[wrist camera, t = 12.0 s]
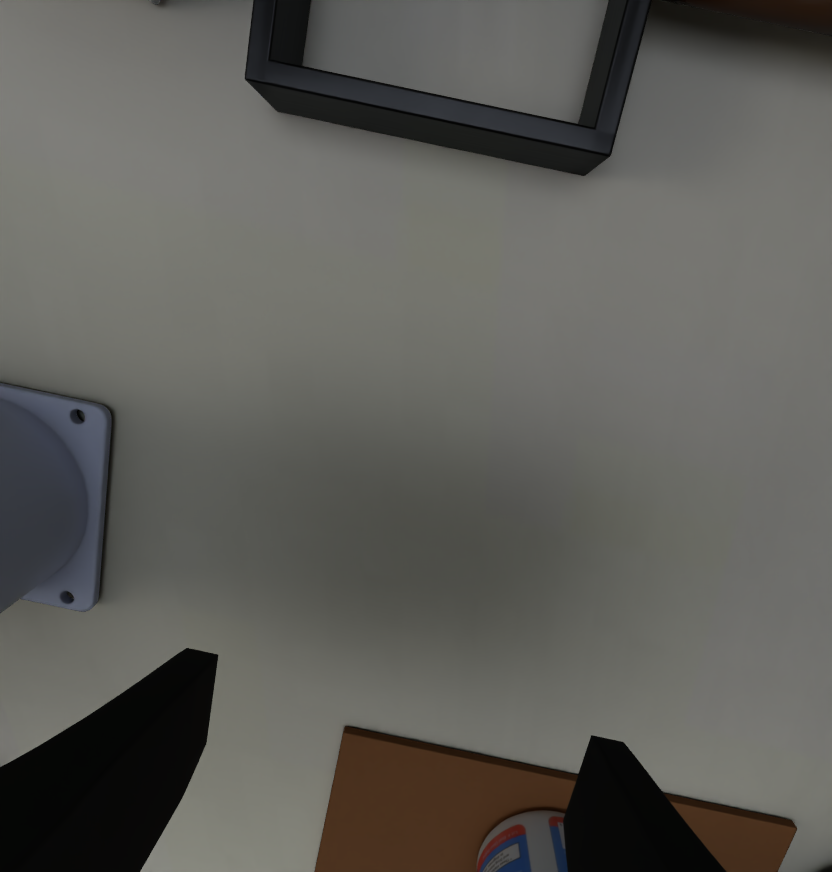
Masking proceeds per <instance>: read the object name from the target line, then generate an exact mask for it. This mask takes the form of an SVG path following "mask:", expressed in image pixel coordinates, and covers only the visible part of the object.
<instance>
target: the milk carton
mask: <svg viewBox="0 0 832 872" xmlns="http://www.w3.org/2000/svg"><path fill="white" fill-rule="evenodd" d="M149 1H150V2H152V3H153V4H155V5H158V4H159V3H160V1H161V0H149Z"/></svg>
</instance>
